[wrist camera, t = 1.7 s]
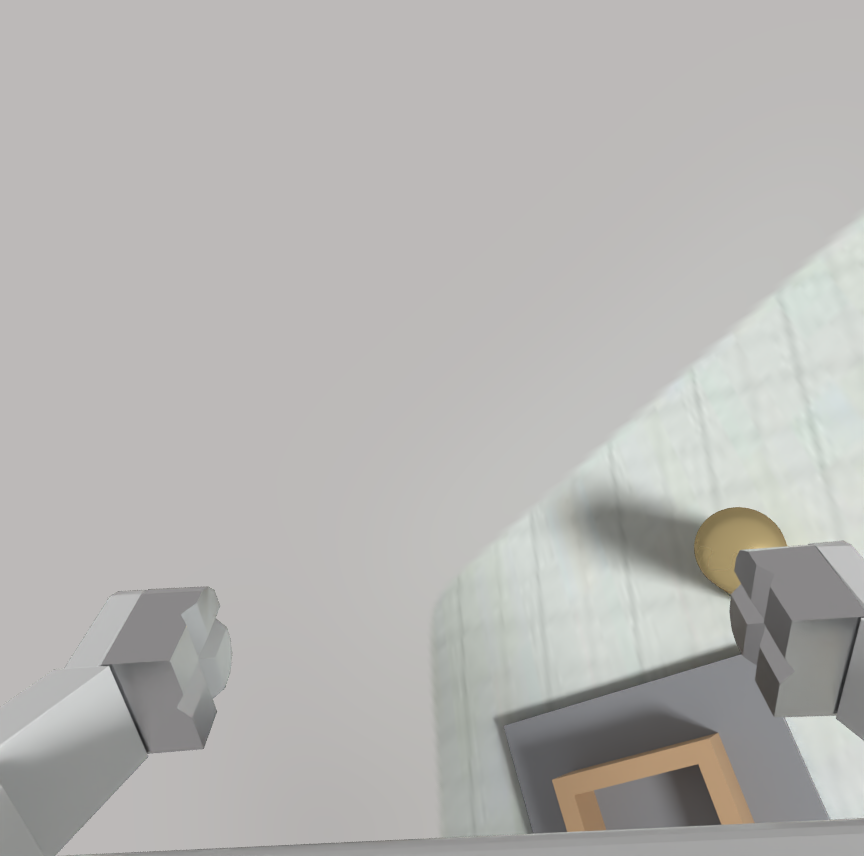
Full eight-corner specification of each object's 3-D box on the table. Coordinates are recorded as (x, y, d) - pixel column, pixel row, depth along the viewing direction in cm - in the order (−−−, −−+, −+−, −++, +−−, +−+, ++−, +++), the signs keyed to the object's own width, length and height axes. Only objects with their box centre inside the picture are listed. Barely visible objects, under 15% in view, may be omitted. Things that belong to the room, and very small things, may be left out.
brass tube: (776, 528, 41) (762, 494, 33) (809, 594, 39) (803, 575, 31) (710, 552, 42) (681, 525, 34) (739, 616, 41) (715, 604, 32)
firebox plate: (754, 650, 40) (746, 649, 36) (906, 990, 33) (916, 1033, 29) (509, 724, 45) (480, 730, 41) (594, 1028, 38) (569, 1068, 35)
